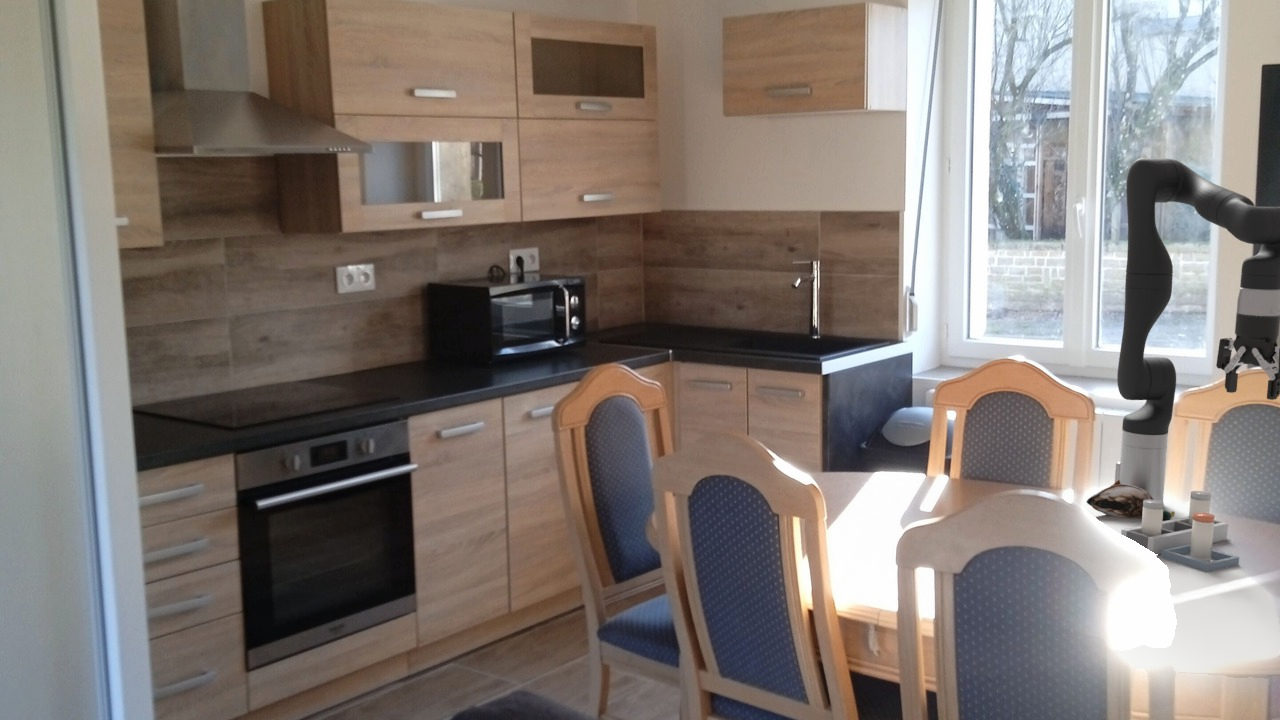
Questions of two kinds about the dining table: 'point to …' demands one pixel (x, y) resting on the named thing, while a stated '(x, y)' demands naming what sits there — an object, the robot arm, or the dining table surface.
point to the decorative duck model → (1123, 501)
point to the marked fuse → (1202, 536)
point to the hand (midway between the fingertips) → (1251, 395)
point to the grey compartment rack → (1173, 535)
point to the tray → (1220, 563)
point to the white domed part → (1199, 503)
